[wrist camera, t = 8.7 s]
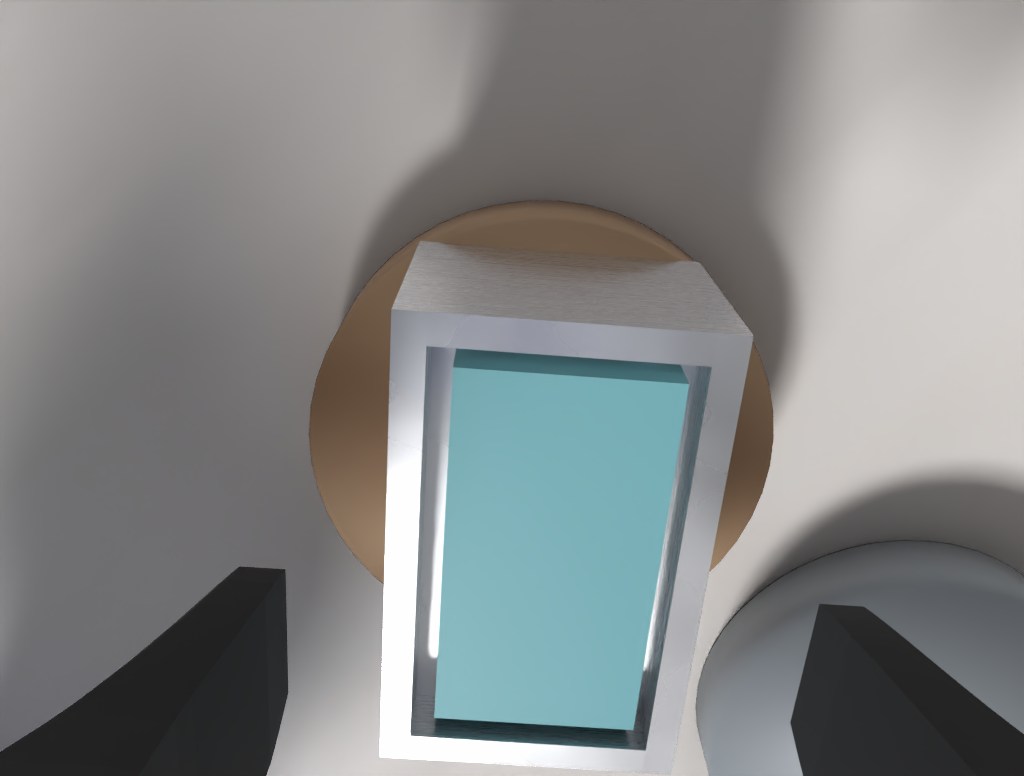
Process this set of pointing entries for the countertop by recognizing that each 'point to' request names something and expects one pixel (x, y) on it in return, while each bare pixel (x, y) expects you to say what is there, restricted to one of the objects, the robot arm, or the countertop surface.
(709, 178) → the countertop surface
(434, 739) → the white and teal box
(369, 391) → the walnut stand
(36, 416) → the countertop surface
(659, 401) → the cover plate
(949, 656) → the grey stand
